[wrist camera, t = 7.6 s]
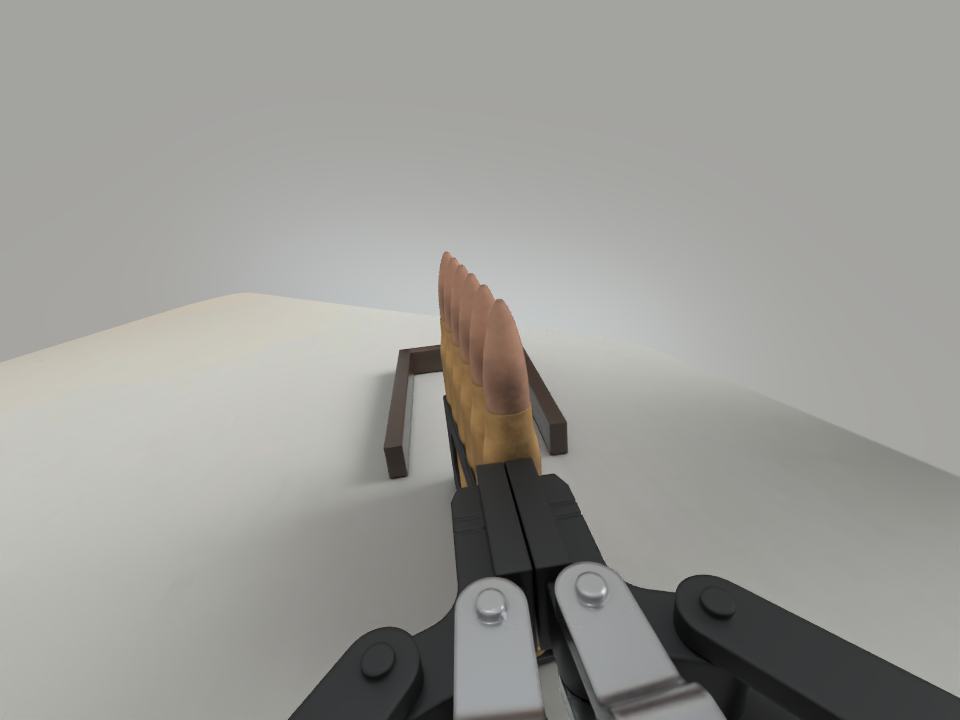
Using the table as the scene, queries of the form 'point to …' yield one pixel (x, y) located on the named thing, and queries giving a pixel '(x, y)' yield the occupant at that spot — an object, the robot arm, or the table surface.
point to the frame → (430, 361)
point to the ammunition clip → (483, 381)
